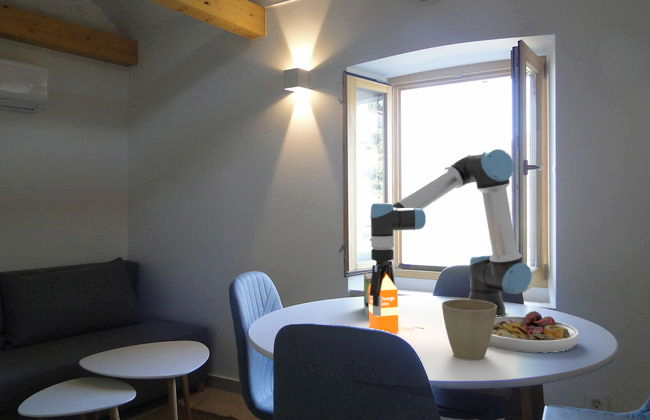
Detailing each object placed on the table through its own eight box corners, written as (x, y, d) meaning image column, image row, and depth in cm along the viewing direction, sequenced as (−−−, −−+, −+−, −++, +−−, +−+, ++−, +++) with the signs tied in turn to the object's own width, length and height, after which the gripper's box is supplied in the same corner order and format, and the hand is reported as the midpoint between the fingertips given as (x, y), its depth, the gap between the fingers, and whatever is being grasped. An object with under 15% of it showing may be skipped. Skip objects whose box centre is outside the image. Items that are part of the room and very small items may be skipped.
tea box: (391, 315, 200) (391, 278, 200) (365, 316, 201) (365, 278, 200) (387, 307, 215) (387, 272, 215) (363, 307, 216) (363, 272, 215)
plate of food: (572, 364, 141) (572, 336, 140) (464, 348, 157) (463, 323, 156) (583, 338, 166) (583, 314, 166) (489, 327, 182) (489, 305, 182)
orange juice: (376, 334, 171) (375, 274, 170) (369, 327, 179) (367, 270, 179) (399, 332, 172) (397, 273, 172) (390, 326, 181) (389, 269, 180)
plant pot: (437, 365, 141) (437, 307, 140) (447, 350, 154) (447, 297, 154) (494, 372, 135) (494, 311, 134) (499, 355, 148) (499, 301, 148)
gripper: (383, 244, 187) (384, 303, 188) (358, 251, 165) (359, 318, 166) (403, 245, 184) (404, 305, 184) (381, 252, 162) (381, 320, 163)
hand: (383, 311), depth 175 cm, fingers open, 12 cm apart
